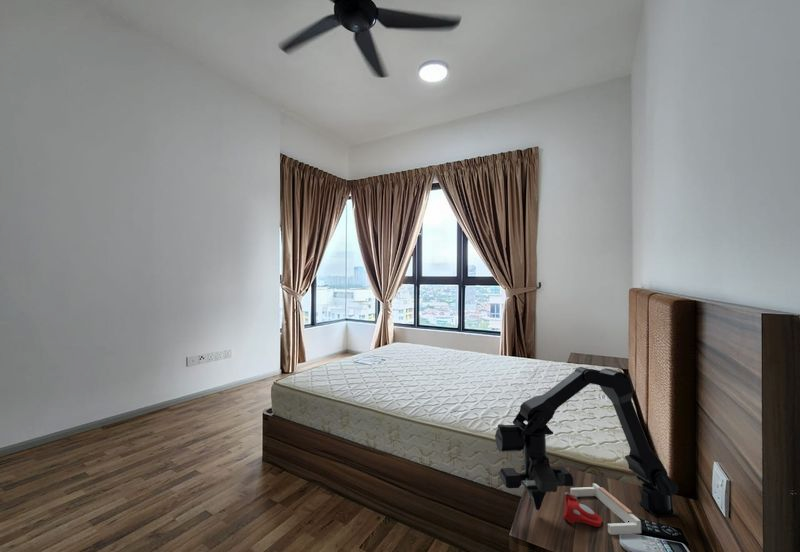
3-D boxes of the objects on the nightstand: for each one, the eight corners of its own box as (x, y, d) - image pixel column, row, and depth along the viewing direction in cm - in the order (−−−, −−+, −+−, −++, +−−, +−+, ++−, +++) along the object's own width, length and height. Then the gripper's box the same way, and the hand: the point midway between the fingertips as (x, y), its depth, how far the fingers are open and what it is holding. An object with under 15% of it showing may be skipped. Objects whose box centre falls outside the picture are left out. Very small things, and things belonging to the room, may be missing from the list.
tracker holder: (610, 518, 90) (588, 521, 86) (605, 534, 90) (582, 537, 86) (570, 486, 101) (548, 487, 96) (565, 500, 101) (543, 501, 96)
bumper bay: (596, 493, 104) (595, 482, 104) (641, 533, 86) (640, 518, 86) (570, 494, 103) (570, 483, 103) (610, 534, 85) (609, 520, 86)
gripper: (513, 464, 86) (515, 530, 85) (584, 462, 87) (588, 526, 86) (498, 446, 97) (499, 504, 96) (561, 444, 98) (564, 501, 97)
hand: (537, 509), depth 93 cm, fingers closed
